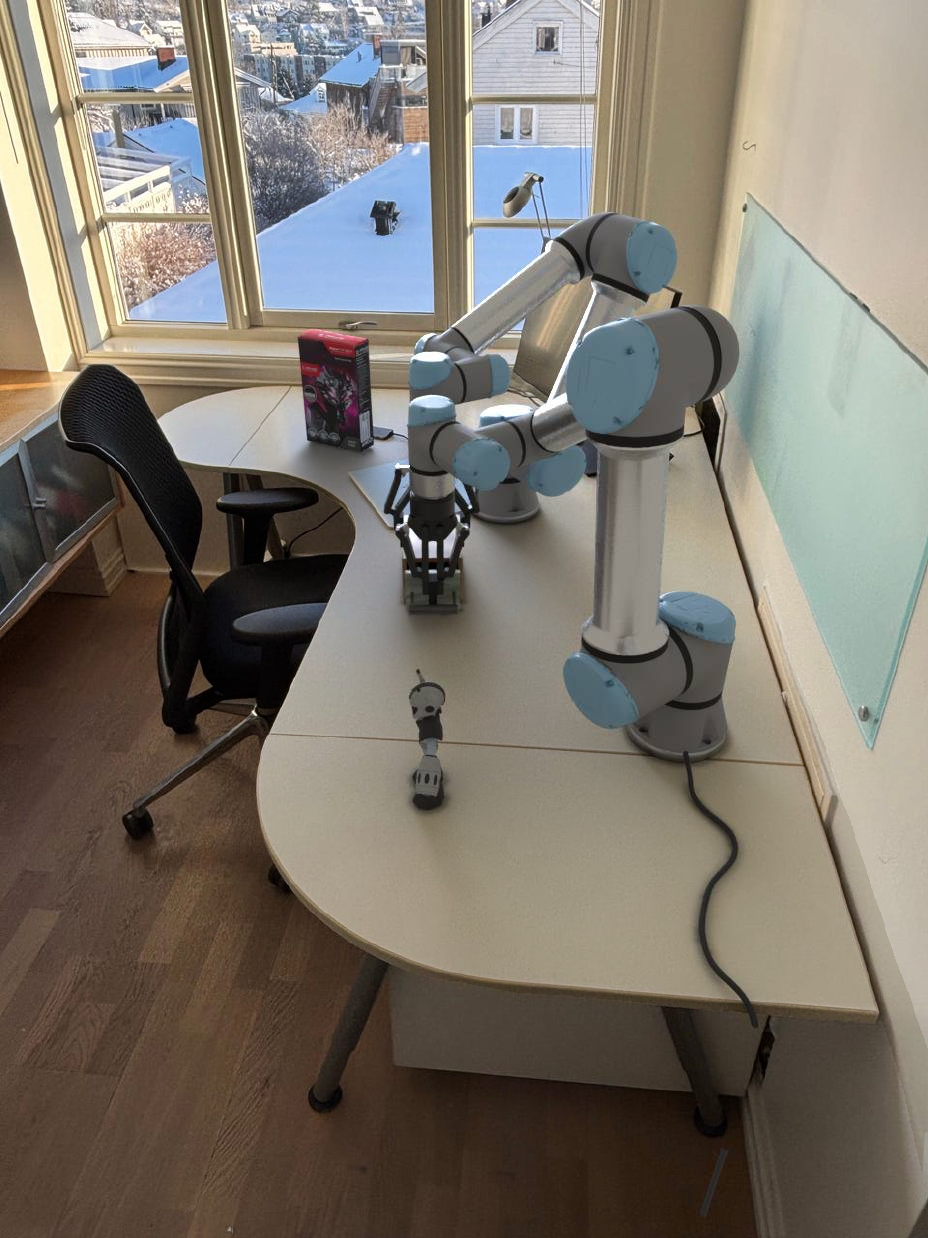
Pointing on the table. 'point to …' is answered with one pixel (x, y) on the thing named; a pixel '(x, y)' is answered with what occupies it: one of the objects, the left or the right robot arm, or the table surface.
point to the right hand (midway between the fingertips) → (433, 608)
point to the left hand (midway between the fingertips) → (432, 543)
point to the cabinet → (432, 555)
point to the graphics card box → (336, 389)
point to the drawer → (420, 602)
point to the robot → (428, 742)
